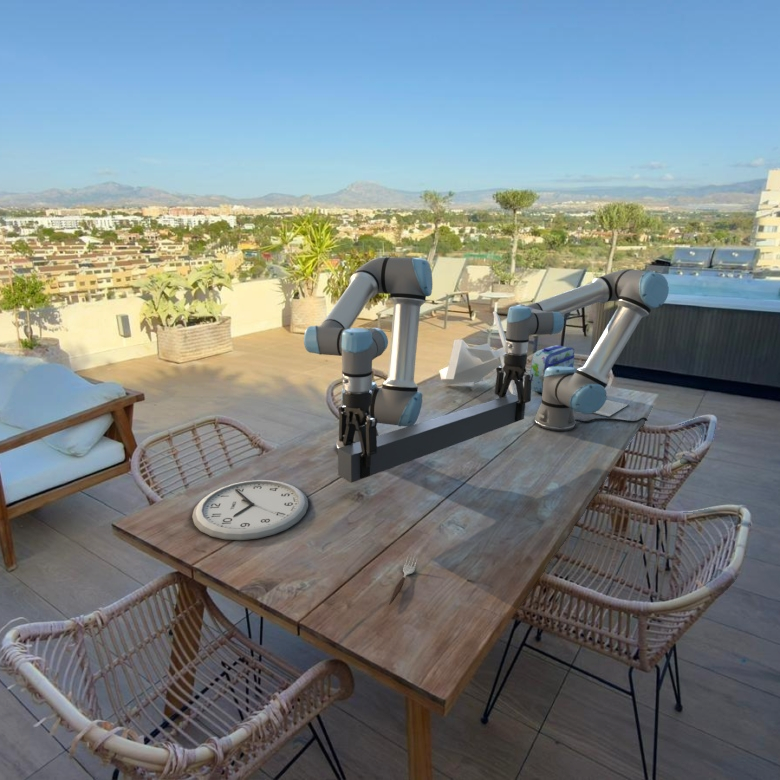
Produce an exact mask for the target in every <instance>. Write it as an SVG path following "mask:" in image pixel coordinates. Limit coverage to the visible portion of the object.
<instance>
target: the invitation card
mask: <svg viewBox="0 0 780 780" xmlns="http://www.w3.org/2000/svg"><path fill="white" fill-rule="evenodd" d="M628 406H629V404H627V403H623V402H618V401H614V400H609V399H606V401H605V403H604V405H603V406H602V407H601V408H600V409H599V410H598V411H596V412H594V413H593V414H596V415H600V416H604V417H608V418H610V417H611V416H613V415H614V414H616V413H617V412H619V411H621V410H623V409H624V408H626V407H628Z"/></svg>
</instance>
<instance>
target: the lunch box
mask: <svg viewBox="0 0 780 780" xmlns="http://www.w3.org/2000/svg"><path fill="white" fill-rule="evenodd" d="M574 363H575V348H573V347H571V346H570V347H568V346H563V345H551V346H548V347H544V348H543V349H539V350H536V351H535V352H534V354H533V356H532V358H531V363H530V373H529V374H533V378H532V380H531V392H536V393H540V394H542V392H543V382H544V374H545V370H546V369H547V368H549V367H556V366H563V367H573V368H574Z"/></svg>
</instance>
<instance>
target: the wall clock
mask: <svg viewBox="0 0 780 780" xmlns="http://www.w3.org/2000/svg"><path fill="white" fill-rule="evenodd" d="M308 509H309V502H308V498H307V496H306V494H305V493H304V492H303V491H302V490H300V489H299V488H297V487H296V486H294V485H292V484H289V483H286V482H284V481H283V482H282V481H276V480H268V479H267V480H266V479H257V480H245V481H240V482H236V483H231V484H229V485H226V486H223V487H220V488H218V489H216V490H214V491H212V492H210V493H209V494H207V495H205V497H203V498H202V499H201V500H200V501H198V503H197V504H196V506H195V507H194V508H193V512H192V516H191V517H192V521H193V524H194V526H195V527H196V528H197V530H199V531H200V532H201V533H203V534H206V535H207V536H210V537H212V538H216V539H222V540H226V541H227V540H229V541H245V540H246V541H247V540H256V539H261V538H265V537H266V538H267V537H271V536H274V535H276V534H278V533H281V532H283V531H286V530H288V529H289V528H291V527H293V526H295V525H296V524H297V523H299V522H300V521H301V520H302V518H304V516H305V515H306V513H307V511H308Z"/></svg>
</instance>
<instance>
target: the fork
mask: <svg viewBox="0 0 780 780" xmlns="http://www.w3.org/2000/svg"><path fill="white" fill-rule="evenodd" d="M415 556H416V555H414V556H413V554H411V555H410V554H408V555H407V558H406V560H405V563H404V565H403V568H402V572H403V576H402V578H401V579H400V581H398V583H397V584H396V586H395V588H394V591H393V593H392V596H391V598H390V600H389V603H388V605H389V606H391V605H392V603H393V602H394V600H395V599H396V597H397V596H398V594H399V593H400V592H401V590H402V588H403V585H404V583H405V580H406V577H407V576H409V575H411V574H413V573H415V571H416V567H417V562H418V559H419V556H416V557H415ZM409 557H410V558H409ZM412 557H413V560H412ZM415 558H416V559H415ZM411 561H412V562H411ZM414 562H415V563H414Z"/></svg>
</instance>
